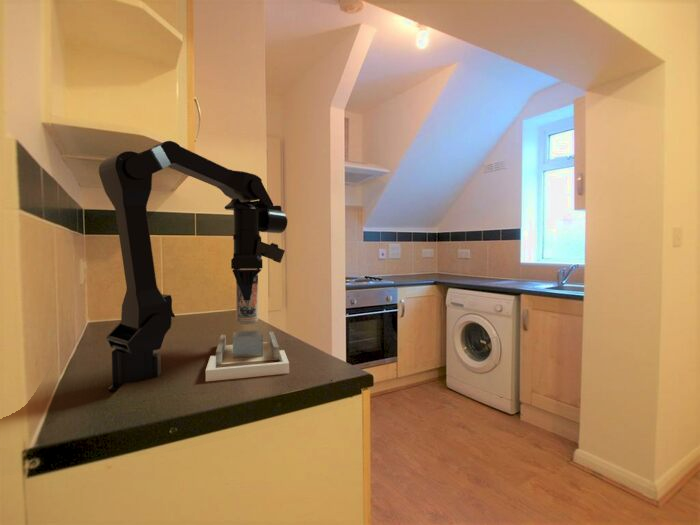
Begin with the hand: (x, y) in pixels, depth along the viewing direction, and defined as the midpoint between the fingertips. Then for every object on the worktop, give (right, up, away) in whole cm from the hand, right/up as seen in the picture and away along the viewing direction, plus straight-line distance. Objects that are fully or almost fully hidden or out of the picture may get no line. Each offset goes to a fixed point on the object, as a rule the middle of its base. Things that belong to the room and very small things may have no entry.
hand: (247, 299), depth 82 cm
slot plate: (+1, -12, -4) cm, 13 cm away
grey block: (+2, -11, -6) cm, 13 cm away
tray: (+5, -13, -15) cm, 21 cm away
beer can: (0, -6, 0) cm, 6 cm away
